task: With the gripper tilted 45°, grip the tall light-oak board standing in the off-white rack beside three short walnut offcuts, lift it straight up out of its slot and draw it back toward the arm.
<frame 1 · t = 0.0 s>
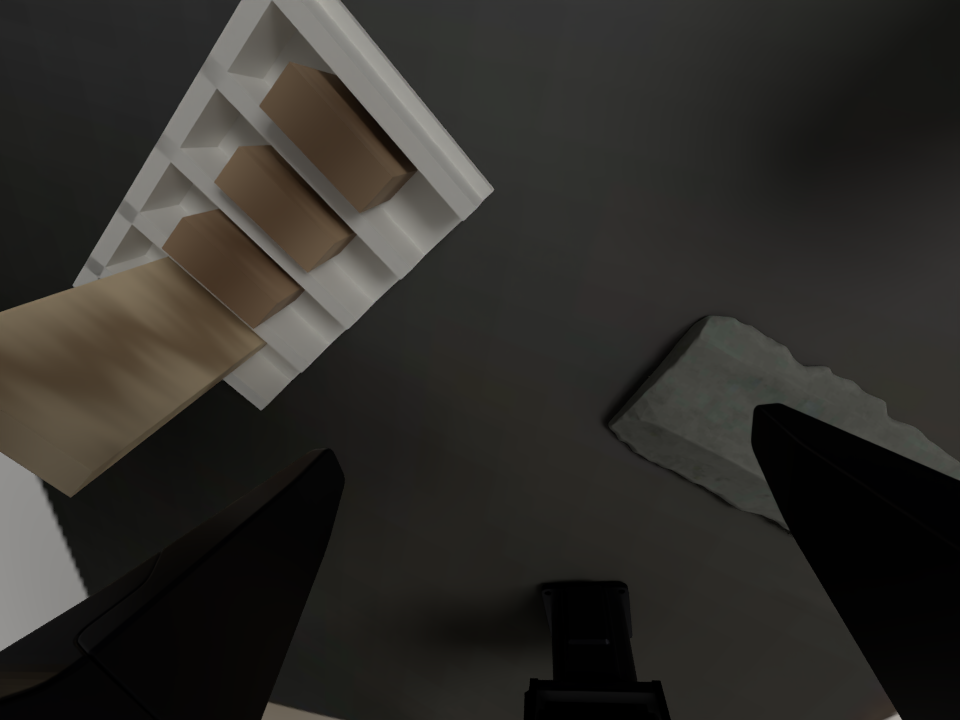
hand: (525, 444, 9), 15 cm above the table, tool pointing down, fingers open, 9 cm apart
offcut rack: (292, 232, 23), on the table
walnut offcut 3: (364, 140, 20), point 1 cm above the table, touching offcut rack
walnut offcut 2: (313, 201, 21), point 1 cm above the table, touching offcut rack
walnut offcut 1: (269, 254, 23), point 1 cm above the table, touching offcut rack
oak board: (230, 300, 24), point 1 cm above the table, touching offcut rack
stone slab: (797, 448, 26), on the table
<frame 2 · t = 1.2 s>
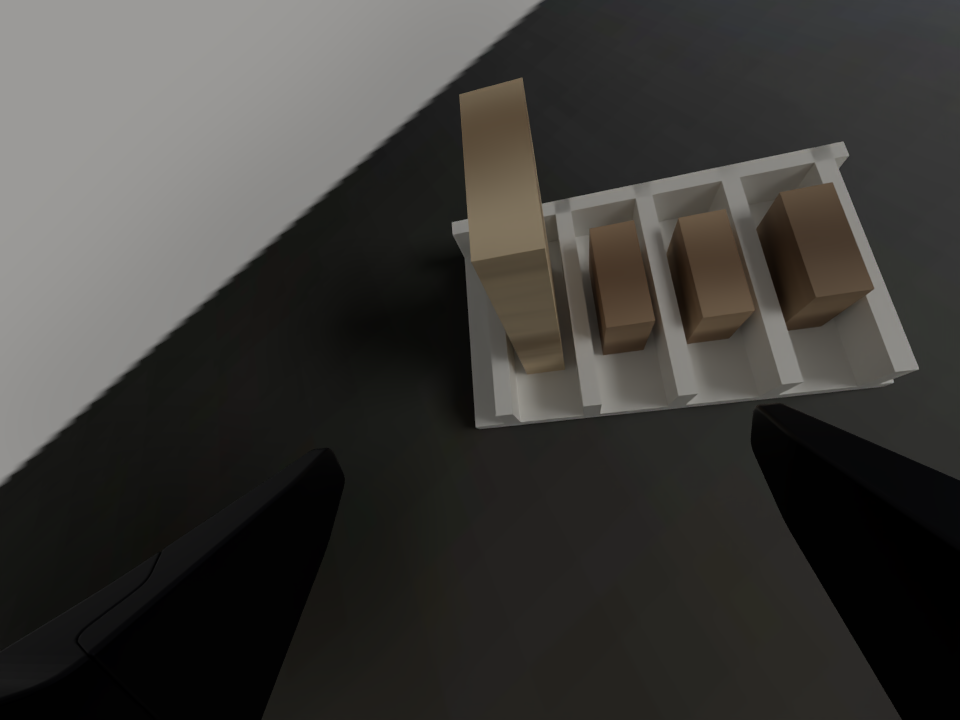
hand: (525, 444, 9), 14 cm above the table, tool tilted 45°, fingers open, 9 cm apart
offcut rack: (642, 309, 23), on the table
walnut offcut 3: (782, 282, 21), point 1 cm above the table, touching offcut rack
walnut offcut 2: (695, 295, 22), point 1 cm above the table, touching offcut rack
walnut offcut 1: (615, 308, 23), point 1 cm above the table, touching offcut rack
oak board: (539, 319, 24), point 1 cm above the table, touching offcut rack
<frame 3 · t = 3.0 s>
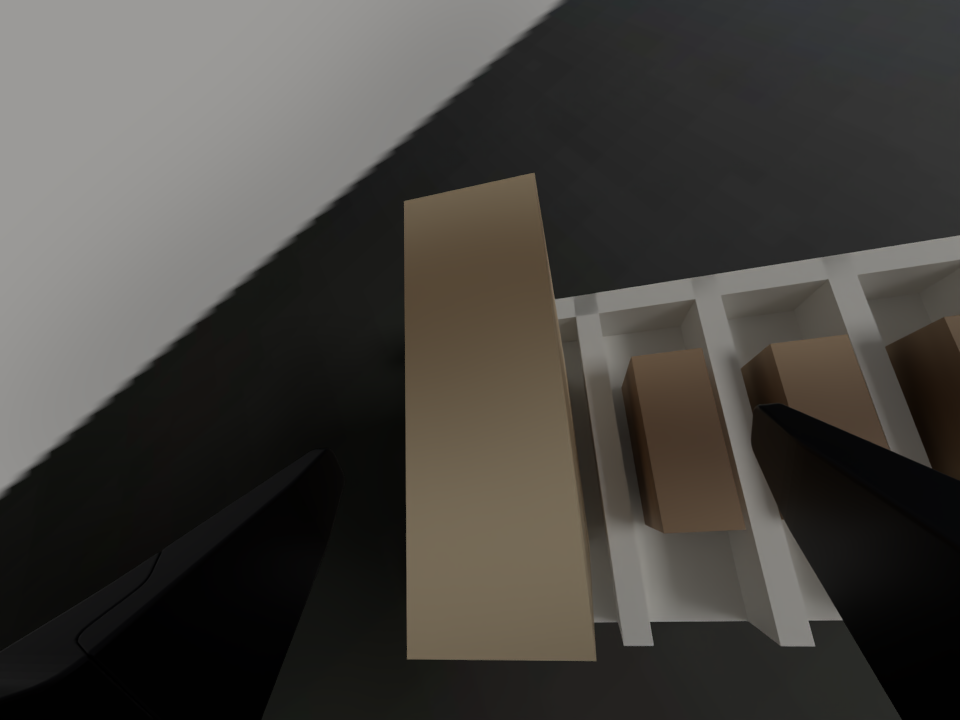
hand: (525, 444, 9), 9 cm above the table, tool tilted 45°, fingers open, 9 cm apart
offcut rack: (699, 449, 16), on the table
walnut offcut 3: (917, 428, 14), point 1 cm above the table, touching offcut rack
walnut offcut 2: (782, 440, 15), point 1 cm above the table, touching offcut rack
walnut offcut 1: (661, 450, 16), point 1 cm above the table, touching offcut rack
oak board: (551, 459, 17), point 1 cm above the table, touching offcut rack
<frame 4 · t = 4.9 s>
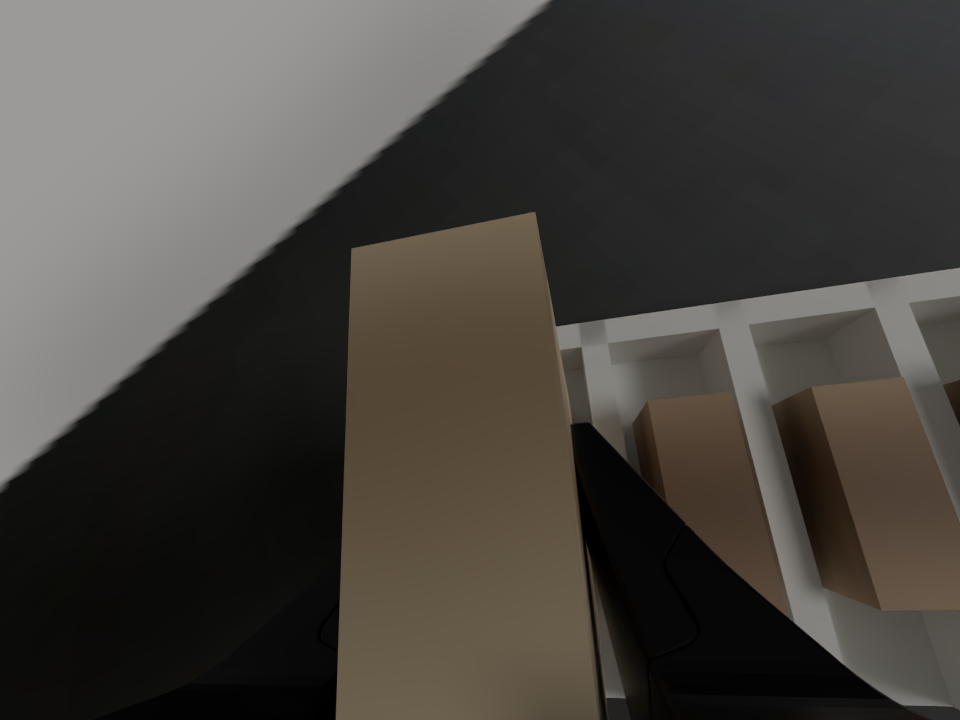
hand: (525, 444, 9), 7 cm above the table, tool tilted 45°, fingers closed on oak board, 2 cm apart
offcut rack: (720, 494, 14), on the table
walnut offcut 2: (816, 488, 13), point 1 cm above the table, touching offcut rack
walnut offcut 1: (677, 497, 14), point 1 cm above the table, touching offcut rack
oak board: (553, 505, 15), point 1 cm above the table, touching gripper, offcut rack
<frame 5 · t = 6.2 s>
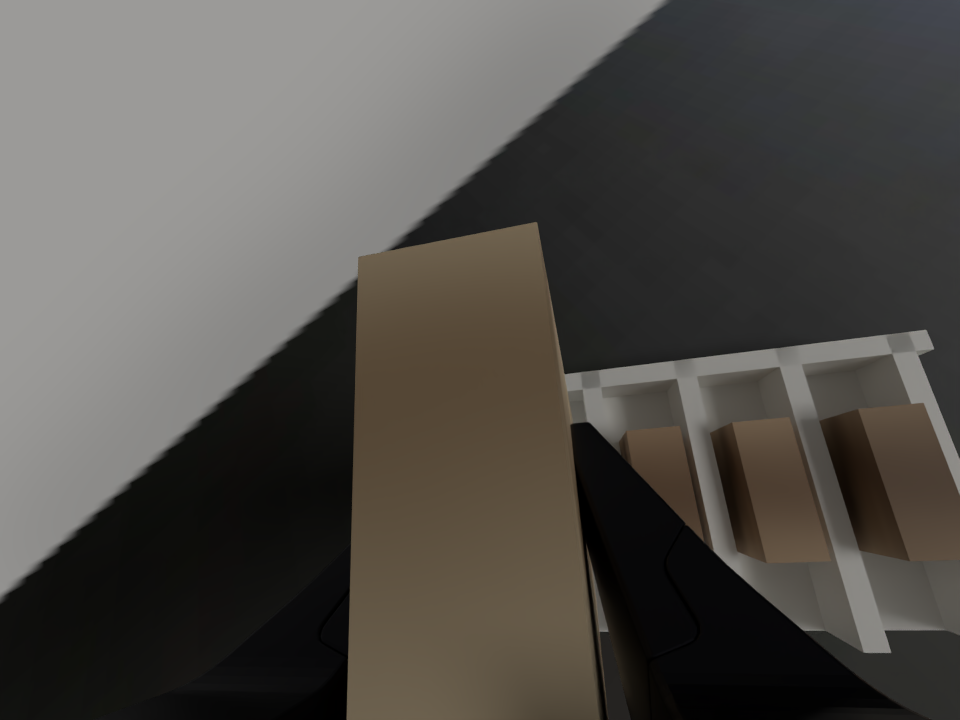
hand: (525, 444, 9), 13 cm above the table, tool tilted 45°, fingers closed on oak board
offcut rack: (681, 492, 20), on the table
walnut offcut 3: (849, 481, 18), point 1 cm above the table, touching offcut rack
walnut offcut 2: (745, 488, 19), point 1 cm above the table, touching offcut rack
walnut offcut 1: (650, 494, 20), point 1 cm above the table, touching offcut rack
oak board: (553, 504, 15), point 7 cm above the table, touching gripper
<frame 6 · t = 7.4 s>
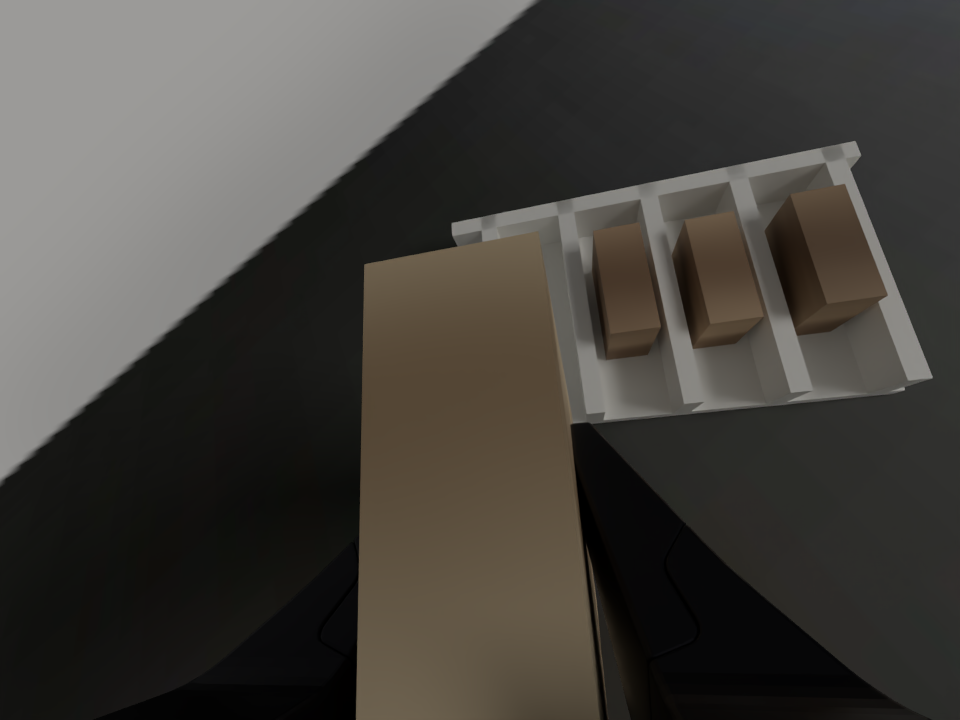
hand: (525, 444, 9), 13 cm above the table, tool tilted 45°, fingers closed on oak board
offcut rack: (646, 313, 23), on the table
walnut offcut 3: (790, 286, 21), point 1 cm above the table, touching offcut rack
walnut offcut 2: (701, 299, 21), point 1 cm above the table, touching offcut rack
walnut offcut 1: (618, 311, 22), point 1 cm above the table, touching offcut rack
oak board: (554, 503, 15), point 7 cm above the table, touching gripper
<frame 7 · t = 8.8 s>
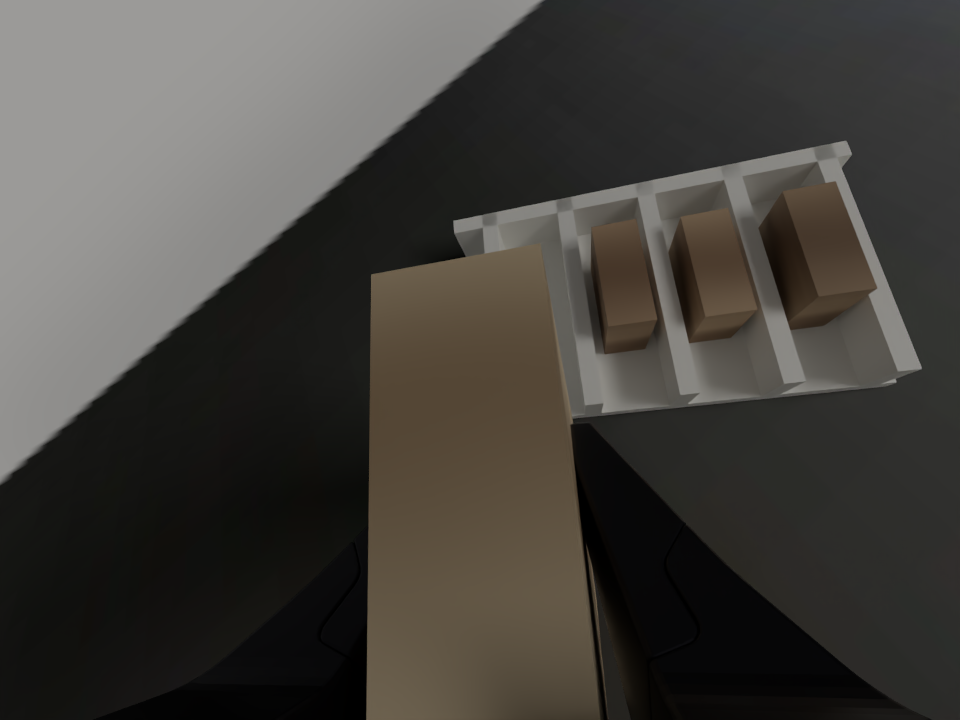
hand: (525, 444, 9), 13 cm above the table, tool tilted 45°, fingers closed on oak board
offcut rack: (644, 308, 23), on the table
walnut offcut 3: (784, 281, 21), point 1 cm above the table, touching offcut rack
walnut offcut 2: (697, 295, 22), point 1 cm above the table, touching offcut rack
walnut offcut 1: (616, 307, 23), point 1 cm above the table, touching offcut rack
oak board: (554, 503, 15), point 7 cm above the table, touching gripper
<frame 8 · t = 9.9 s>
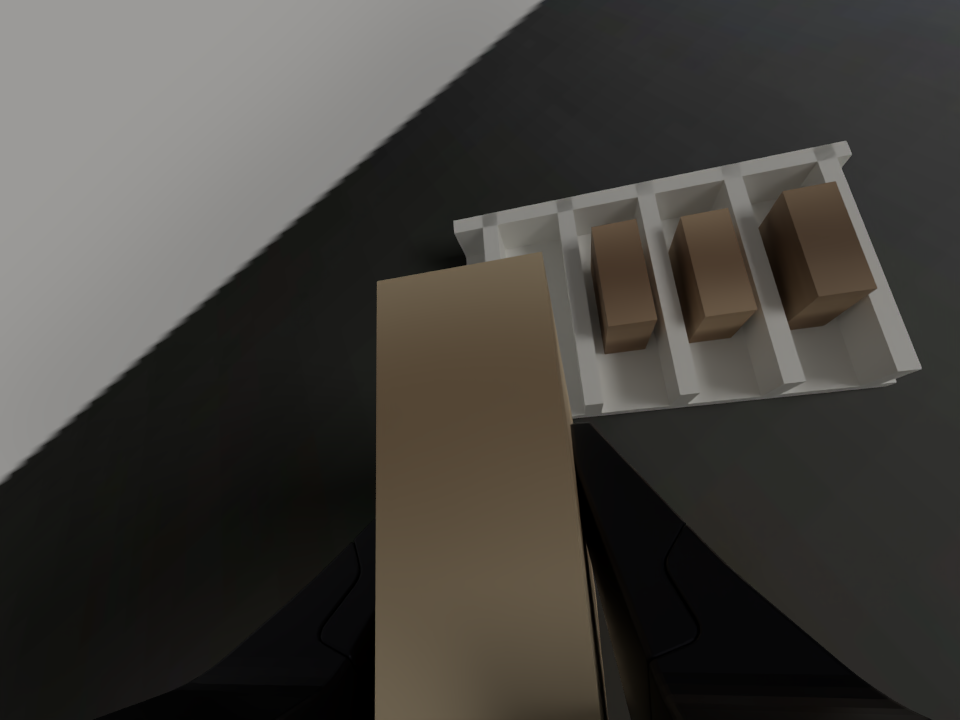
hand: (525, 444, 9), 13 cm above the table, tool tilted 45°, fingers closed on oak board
offcut rack: (644, 308, 23), on the table
walnut offcut 3: (784, 281, 21), point 1 cm above the table, touching offcut rack
walnut offcut 2: (697, 295, 22), point 1 cm above the table, touching offcut rack
walnut offcut 1: (616, 307, 23), point 1 cm above the table, touching offcut rack
oak board: (554, 502, 15), point 6 cm above the table, touching gripper
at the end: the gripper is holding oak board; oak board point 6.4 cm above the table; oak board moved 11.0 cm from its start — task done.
